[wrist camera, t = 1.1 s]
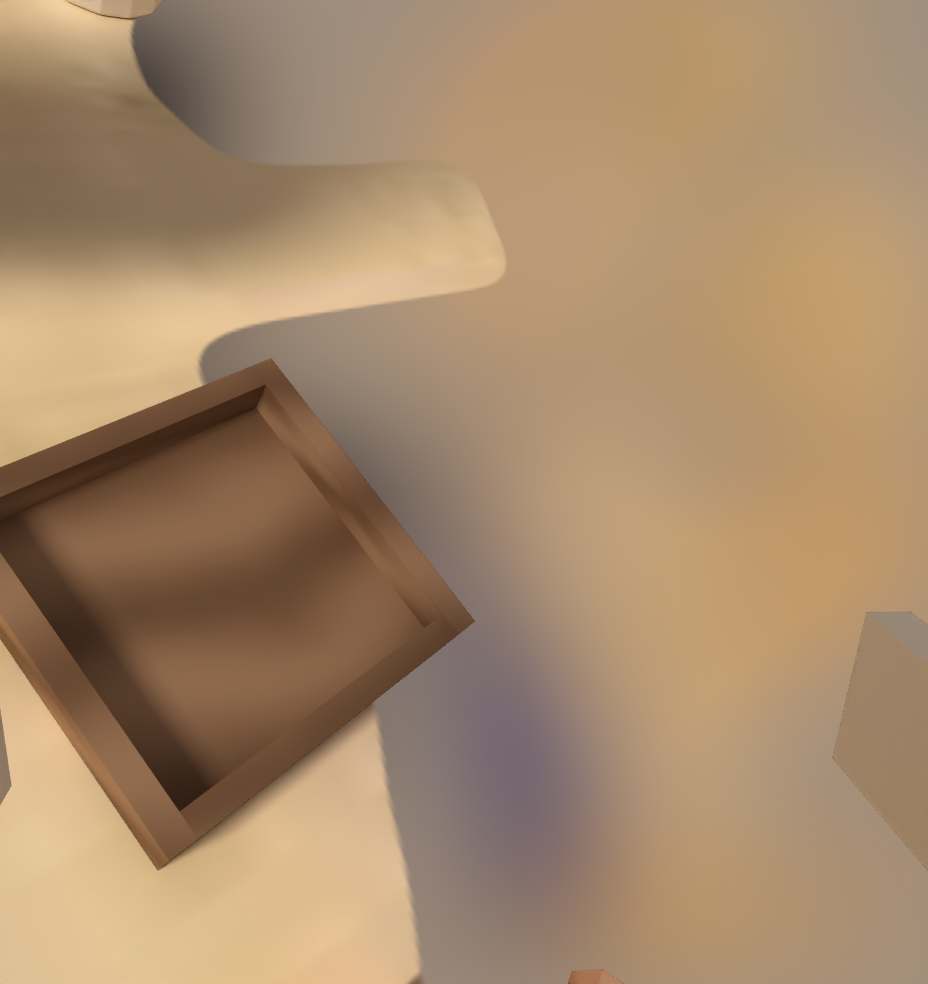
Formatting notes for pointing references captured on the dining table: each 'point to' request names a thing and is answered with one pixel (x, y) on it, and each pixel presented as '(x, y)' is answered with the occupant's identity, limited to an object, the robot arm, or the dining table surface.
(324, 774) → the dining table surface
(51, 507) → the tray
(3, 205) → the dining table surface
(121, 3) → the white cup
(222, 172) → the dining table surface
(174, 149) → the dining table surface
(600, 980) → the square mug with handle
